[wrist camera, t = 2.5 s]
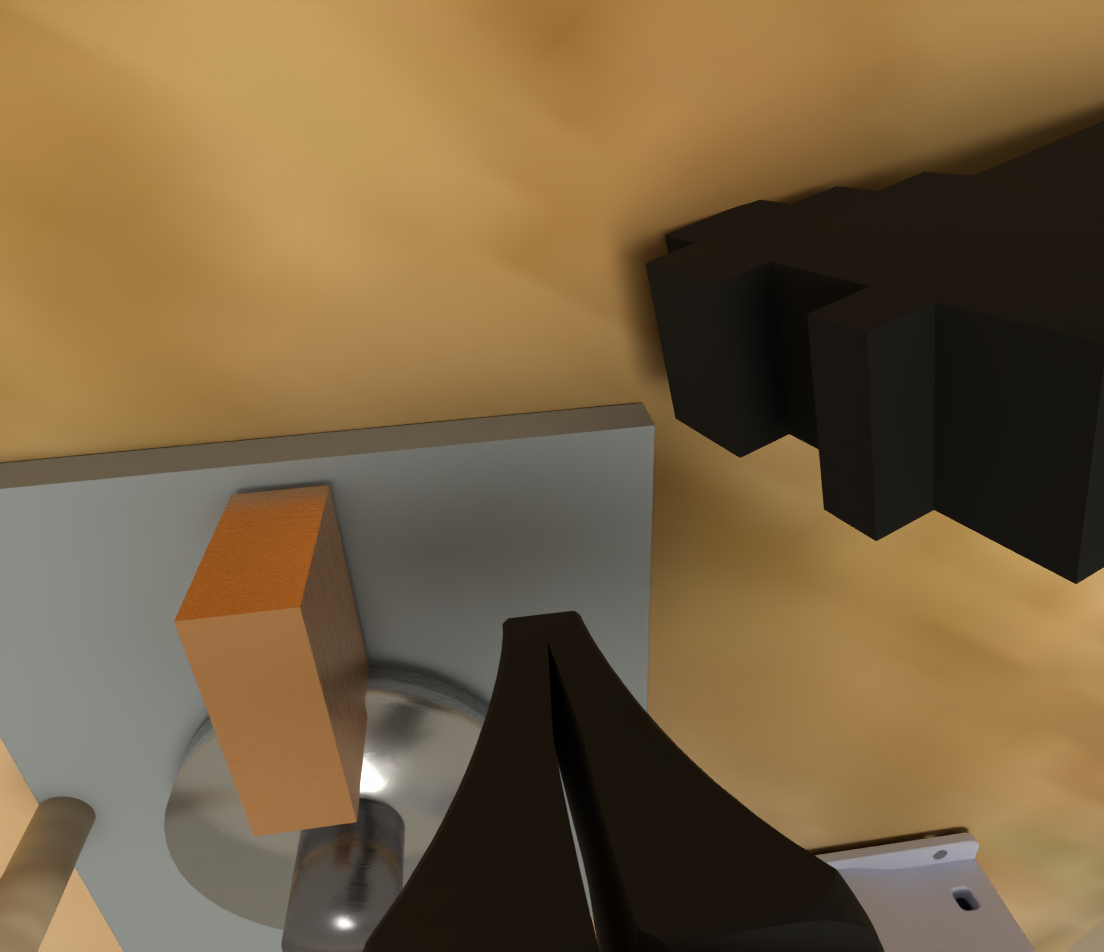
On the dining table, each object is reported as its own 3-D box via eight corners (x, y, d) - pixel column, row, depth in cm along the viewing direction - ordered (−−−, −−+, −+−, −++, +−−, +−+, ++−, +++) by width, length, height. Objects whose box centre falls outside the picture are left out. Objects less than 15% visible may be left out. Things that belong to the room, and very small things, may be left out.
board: (641, 402, 18) (654, 425, 17) (633, 876, 27) (641, 909, 26) (-99, 472, 16) (-135, 502, 15) (155, 948, 25) (143, 986, 24)
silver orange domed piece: (532, 869, 23) (549, 1013, 20) (227, 914, 23) (190, 1073, 19) (496, 468, 16) (512, 583, 13) (53, 513, 16) (-57, 648, 12)
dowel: (84, 793, 20) (15, 942, 17) (103, 827, 21) (40, 977, 17) (28, 800, 20) (-54, 952, 16) (48, 834, 20) (-27, 987, 17)
